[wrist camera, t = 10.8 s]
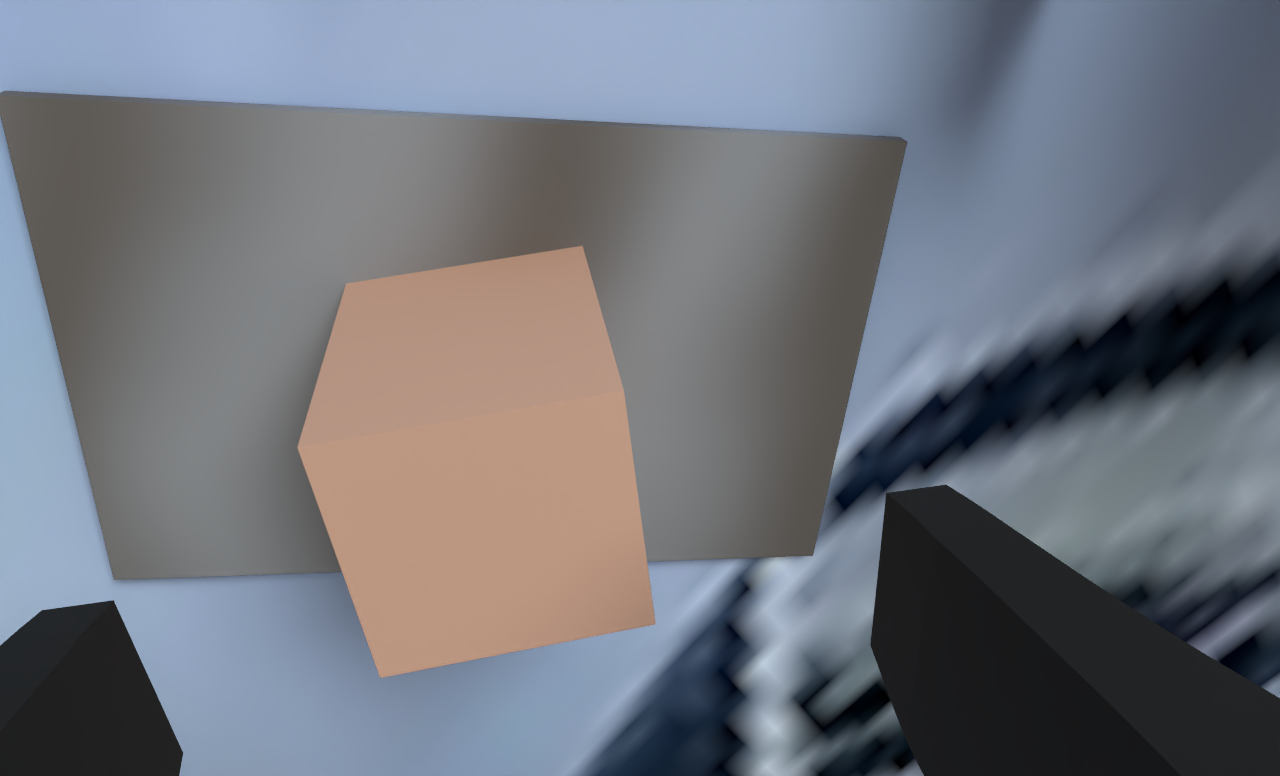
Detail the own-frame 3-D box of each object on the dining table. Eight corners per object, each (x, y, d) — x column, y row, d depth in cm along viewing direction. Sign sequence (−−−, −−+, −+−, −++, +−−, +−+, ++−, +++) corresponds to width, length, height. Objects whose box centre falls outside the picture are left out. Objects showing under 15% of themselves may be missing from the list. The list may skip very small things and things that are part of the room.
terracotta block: (582, 245, 16) (623, 391, 11) (610, 439, 18) (655, 624, 13) (346, 283, 15) (296, 447, 11) (403, 476, 17) (380, 677, 13)
